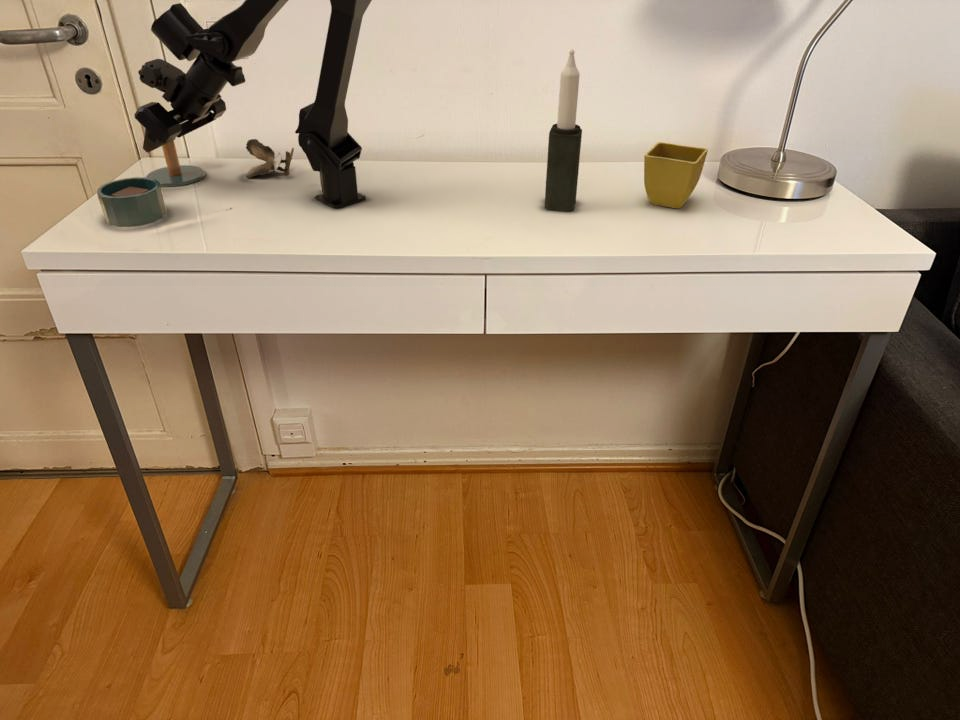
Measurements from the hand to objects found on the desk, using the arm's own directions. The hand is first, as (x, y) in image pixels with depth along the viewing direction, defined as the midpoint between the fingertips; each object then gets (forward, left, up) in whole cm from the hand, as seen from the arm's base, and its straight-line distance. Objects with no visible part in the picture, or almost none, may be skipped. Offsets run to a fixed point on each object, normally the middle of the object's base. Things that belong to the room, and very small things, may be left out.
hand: (161, 142), depth 125 cm
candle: (-58, -43, -7) cm, 72 cm away
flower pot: (-70, -58, -7) cm, 91 cm away
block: (-14, +12, -6) cm, 19 cm away
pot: (-14, +12, -7) cm, 20 cm away
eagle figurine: (-11, -14, -7) cm, 19 cm away
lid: (-1, -1, -6) cm, 6 cm away
